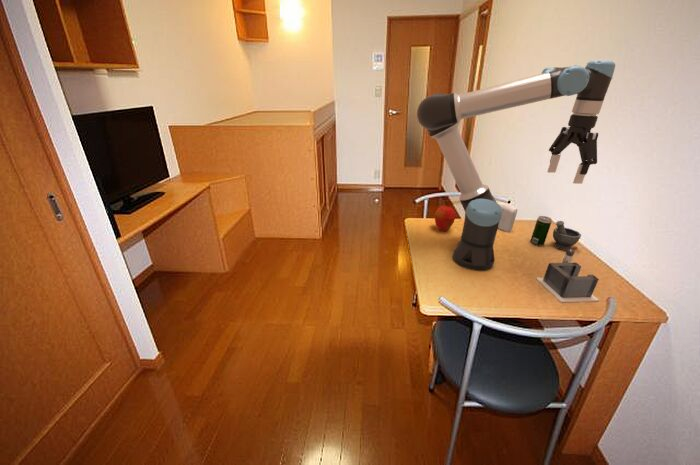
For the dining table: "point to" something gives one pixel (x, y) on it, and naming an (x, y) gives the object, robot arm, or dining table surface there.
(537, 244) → the beer can
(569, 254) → the stand
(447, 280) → the dining table surface
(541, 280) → the mat
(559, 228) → the mortar and pestle
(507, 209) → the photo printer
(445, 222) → the apple
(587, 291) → the c link
